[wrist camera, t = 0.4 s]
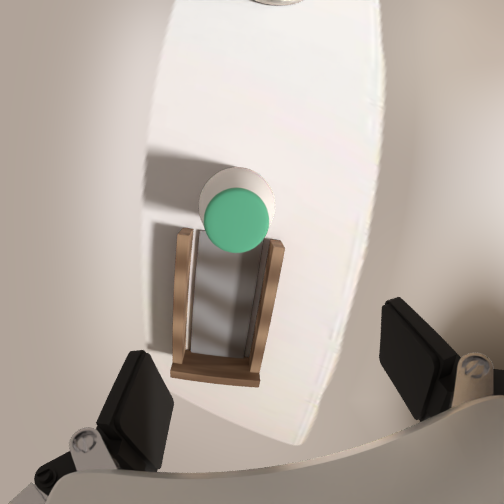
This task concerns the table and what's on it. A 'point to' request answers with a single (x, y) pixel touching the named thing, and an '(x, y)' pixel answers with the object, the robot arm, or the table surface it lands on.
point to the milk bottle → (236, 209)
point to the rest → (222, 311)
